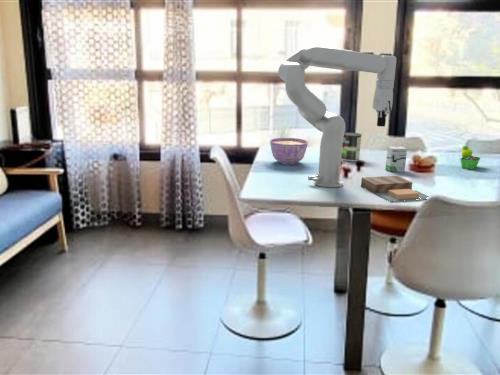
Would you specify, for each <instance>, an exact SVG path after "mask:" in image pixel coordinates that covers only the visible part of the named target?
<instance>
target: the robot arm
mask: <svg viewBox="0 0 500 375" xmlns="http://www.w3.org/2000/svg"><path fill="white" fill-rule="evenodd" d="M396 65H397V57H396V56H395V55H388V54H387V55H384V54H383V55H380V54H374V53H368V52H367V53H366V52H359V51H354V50H349V49H343V48H336V47H328V46H321V45H306V46H304V47H302V48H300V49H299V50H298V51H297V52H295V53H293V54H292V55H291V56H290V57H288V58H287V59H285V61H283V62H282V63H281V64H280V65H279V67H278V71H277V72H278V77H279V78H280V79H281V80H282V81H283V82H285V86H284V87H285V92H286V96H287V97H288V99H289V101H291V103H293V104H294V105H295V106H296V107H297V111H298V113H299V114H300V115H301V117H302V118H303V119H304V120H305V121H307V122H308V123H309V124H310V125H312V126H313V128H315V129H316V130H318V131H319V132H321V133H322V136H321V138H320V145H319V157H318V158H319V162H318V164H319V165H318V173H317V172H316V174H314V175H307V179H308V181H313V182H314V185H316V186H318V187H321V188H330V189H331V188H333V189H334V188H340V187H342V186H344V182H343V181H342V180H340V178H341V165H342V160H341V154H342V142H343V136H344V133H346V123H345V120H344V118H343V117H342V116H341V115H339V114H337V113H334V112H331V111H329V110H328V109H327V107H326V104H325V103H324V101H323V100H322V99H320V98H319V97H318V96H316V94H314V93H313V92H312V91H311V90H310V89H309V88H308V87H307V86H306V83H305V82H306V81H305V77H306V71H305V70H306V69H308V68H309V67H314V68H315V67H316V68H322V69H323V68H324V69H332V70H338V71H339V70H340V71H354V72H355V71H356V72H364V73H365V72H366V73H373V74H377V75H376V84H375V89H374V94H373V101H372V109H373V110H375V112H376V113H377V119H376V120H377V122H376V126H377V127H385V126H386V121H387V120H386V119H387V115H390V111H392V109H393V102H394V101H393V100H394V86H395V85H394V84H395V78H396V77H395V76H396V69H397V68H396V67H397V66H396Z"/></svg>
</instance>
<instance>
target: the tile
mask: <svg viewBox="0 0 500 375" xmlns="http://www.w3.org/2000/svg"><path fill="white" fill-rule="evenodd" d="M415 191H416V190H411V189H396V190H388V195H390V196H392V197H394V198H396V199H409V198H418V197H419V193H417V192H415Z"/></svg>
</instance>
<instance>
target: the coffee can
mask: <svg viewBox="0 0 500 375" xmlns="http://www.w3.org/2000/svg"><path fill="white" fill-rule="evenodd" d="M361 142H362V133H358V132H346V131H345V132H344V136H343V142H342V154H341V161H346V162H357V161H356V160H359V161H360V155H361V154H360V153H361V152H360V151H361Z"/></svg>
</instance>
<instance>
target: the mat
mask: <svg viewBox="0 0 500 375" xmlns="http://www.w3.org/2000/svg"><path fill="white" fill-rule="evenodd" d="M414 191H415V192H417V193H419V197H420V198H421V199H426V198H427V197H430V196H429V195H427V194H425V193H422V192H420V191H418V190H414ZM375 195H376V196H378V197H380V198H381V197H382V198H381V199H383V198H384V201H385V200H386V201H387V200H388V202H389V201H390V202H389V203H393V202H392V201H401V202H405V201H404V200H416V199H420V198H419V197H418V198H409V199H396V198H394V197H392V196H390V195H388V192H385V193H375ZM416 201H417V200H416Z"/></svg>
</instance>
